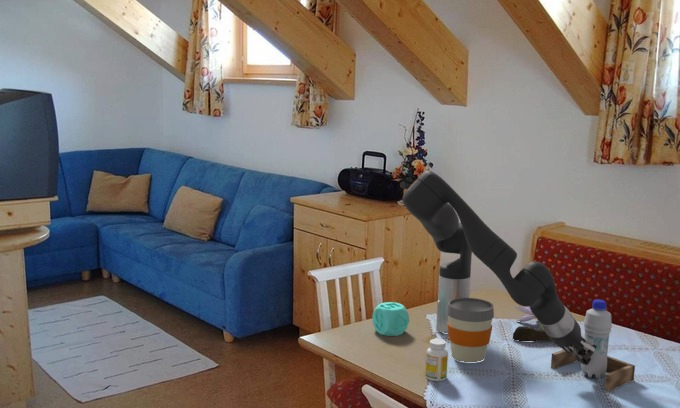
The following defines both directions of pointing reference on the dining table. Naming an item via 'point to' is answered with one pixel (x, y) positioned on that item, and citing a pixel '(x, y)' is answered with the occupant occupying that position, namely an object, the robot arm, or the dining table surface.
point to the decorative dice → (390, 319)
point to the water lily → (527, 317)
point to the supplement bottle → (436, 360)
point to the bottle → (597, 338)
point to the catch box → (616, 370)
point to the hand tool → (530, 334)
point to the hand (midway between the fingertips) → (586, 361)
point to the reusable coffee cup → (469, 328)
